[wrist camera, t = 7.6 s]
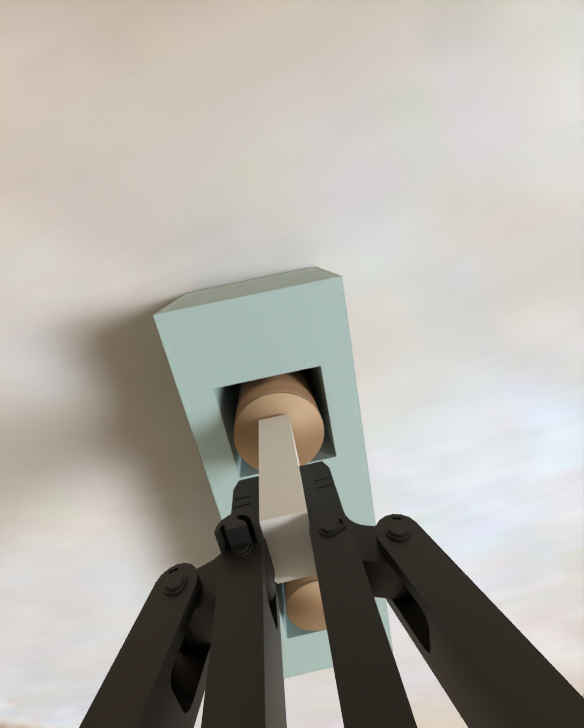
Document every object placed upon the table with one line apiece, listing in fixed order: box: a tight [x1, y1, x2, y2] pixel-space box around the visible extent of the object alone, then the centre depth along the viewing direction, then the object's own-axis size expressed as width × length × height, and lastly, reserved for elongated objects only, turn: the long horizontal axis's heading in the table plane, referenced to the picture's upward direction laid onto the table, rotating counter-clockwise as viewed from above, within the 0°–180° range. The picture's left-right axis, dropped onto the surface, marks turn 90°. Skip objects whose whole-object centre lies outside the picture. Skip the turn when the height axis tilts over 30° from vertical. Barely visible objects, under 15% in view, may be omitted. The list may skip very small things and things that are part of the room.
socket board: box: [153, 267, 393, 678], centre depth 24 cm, size 28×9×8 cm, turn 11°
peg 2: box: [284, 575, 327, 631], centre depth 26 cm, size 5×5×8 cm
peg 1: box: [234, 369, 324, 470], centre depth 21 cm, size 5×5×8 cm
